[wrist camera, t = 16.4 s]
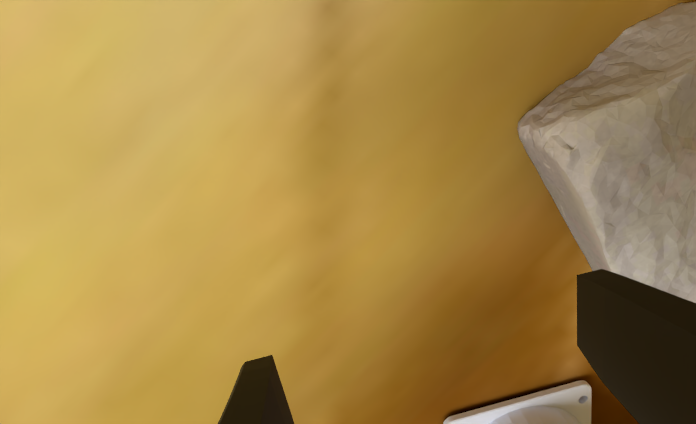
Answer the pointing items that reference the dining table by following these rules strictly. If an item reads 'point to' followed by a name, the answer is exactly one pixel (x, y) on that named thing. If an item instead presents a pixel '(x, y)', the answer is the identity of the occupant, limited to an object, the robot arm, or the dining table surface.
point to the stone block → (628, 153)
